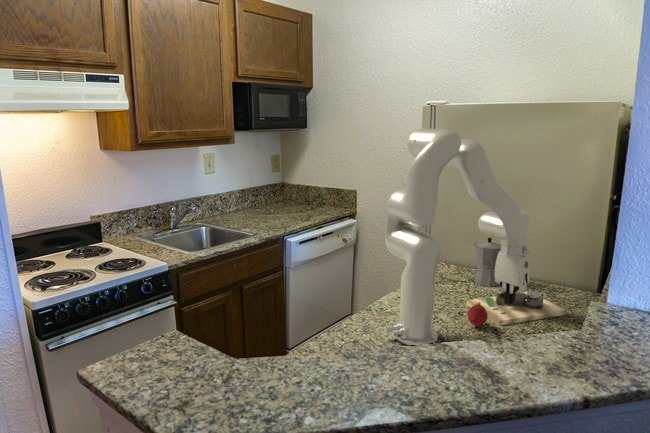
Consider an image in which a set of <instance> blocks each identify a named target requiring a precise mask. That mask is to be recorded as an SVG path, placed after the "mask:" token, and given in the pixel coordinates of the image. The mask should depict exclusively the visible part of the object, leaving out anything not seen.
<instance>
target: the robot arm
mask: <svg viewBox="0 0 650 433" xmlns="http://www.w3.org/2000/svg"><path fill="white" fill-rule="evenodd" d="M406 144H407V149H408V151H409V153H410V154H411V155H412V156H413V157H414V159H413V160H412V162H411V164H410V165H409V168H408V171H407V175H406V187H405V188H400V189H397V190H395V191H393V193H391V195H390V196H389V197H388V199H387V203H386V206H385V228H384V229H385V231H384V232H385V238H384V239H385V240H384V241H385V246H386V248H387V250H388V252H390V254H391V255H393V256H395V257H397V258H399V259H401V260H404V261H405V262H406V265H405V267H404V269H403V271H402V273H401V278H400V298H399V299H400V301H399V319H396V320H395V322H396V323H395V324H393V325H387V326H383V332H384V334H390V333H391V334H392V336H393V337H394V338H395V339H396V340H397V342H399V343H402V344H403V345H407V346H411V345H419V344H429V343H433V344H436V342H437V341H438V339H439V338H438V332H437V331H436V330H435V329H434V328H433V326H434V325H433V324H434V311H435V310H434V309H435V306H434V305H435V291H436V278H437V268H438V265H439V261H440V257H441V250H442V249H441V245H440V242H439V241H438V239H437V238H436V237H435V236H433V235H432V234H430V233H428V232H425V231H423V230H420V229H419V228H423V229H424V228H429V227H431V226H432V225H433V224H434V223H435V222H436V219H437V215H438V214H437V213H438V198H439V179H440V176H441V173H442V171H443V170H444V168H445V167H448V168H449V167H450V168H456V169H458V171H459V174H460V176H461V178H462V182H463V183H464V185H465V188H466V190H467V193H468V194H469V195H470V196H471V198H473V199H474V200H476V201H477V202H478V203H480V204H482V205H484V206H485V207H487V208H488V209H490V210H491V211H487V212H485V213H483V214H481V215H480V217H479V218H478V221H477V226H478V229H479V231H480V232H482V233H483V234H485V235H487V236H490V237H493V238H496V239H497V238H498V239H501V241H500V245H501V250H500V251H499V253H498V256H497V260H496V265H495V282H497V283H498V285H500V287H501V288H502V292H504V303H505V304H508V305H510V304H512V303H514V301H515V292H518V291H521V292H522V291H523V292H525V291H527V289H528V286H527V285H528V284H530V279H531V278H530V277H531V272H530V271H531V268H530V267H531V266H530V257H529V254H530V252H531V249H529V248H528V246H527V243H528V236H529V235H528V234H529V222H530V221H529V220H530V216H529V212H527V211H525V210H524V211H523V210H522V209H521V208H520V206H519V204H518V203H517V201H516V200H515V199H514V198H513V196H512V195H510V193H508V192H507V190H506V189H505V188H504V187H503V186H502V185H501V184H499V183H498V181H497V178H496V177H495V174H494V173H495V172H494V171H493V168H492V167H491V163H490V161H489V158H488V154H487V153H486V150H485V148H484V146H483V144H482V143H481V142H479V141H478V140H475V139H467V138H461V136H460V134H459V133H458V132H456V131H455V130H451V129H446V128H417V129H415V130H414V131H413V132H412V131H411V133H410V134H409V136H408V138H407V143H406ZM414 227H415V228H414ZM416 227H417V228H416Z"/></svg>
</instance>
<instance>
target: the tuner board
mask: <svg viewBox="0 0 650 433" xmlns="http://www.w3.org/2000/svg"><path fill="white" fill-rule="evenodd" d="M527 292H528V291H523V292H522V291H521V293H525V295H526V294H527ZM543 299H544V300H543V307H542V308H539V309H533V308H528V307H525V306H524V305H504V304H497V303H496V295H495V296H489V297H488V296H487V297H480V298H475V299H474V298H473V299H468V300H467V299H466V306H468V307H469V308H471V307H472V306H474V305H476V304H477V302H480V305H481V306H483V307H484V308H485V309H486V311H487V314H488V318H487V320H490V321H492V322H493V323H494V324H496V325H497V326H504V325H505V326H506V325H511V324H518V323H522V322H530V321H535V320H540V319H541V320H542V319H547V318H555V317H559V316H560V317H561V316H566V315H567V311H568V310H567V309H565V308H563V307H562V306H559V305H557V304H555V303H553V302H551V301H549V300H547V299H545V298H543Z"/></svg>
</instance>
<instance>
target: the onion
mask: <svg viewBox="0 0 650 433" xmlns="http://www.w3.org/2000/svg"><path fill="white" fill-rule="evenodd" d="M467 319H468V321H469V322H470V324H471V325H473V326H474V327H476V328H479V327H480V326H482V325H484V324H486V322H487V320H488V314H487V311H486V309H485V308H484V307H483V306H481V305H480V302H477V304H476V305H474V306H472V307H469V309H468V311H467Z"/></svg>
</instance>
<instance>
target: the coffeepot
mask: <svg viewBox="0 0 650 433" xmlns="http://www.w3.org/2000/svg"><path fill="white" fill-rule="evenodd" d="M492 240H493V238H492V237H487V241H484V242H483V241H477V242H472V245H474V247H475V249H476V252H477V262H478V265H477V270H476V273H475V277H474V280H473V281H474V283H475V284H476V285H478V286H481V287H486V288H487V287H488V288H494V287H497V286H498V285H499V283H497V282H495V265H496V260H497V256H498V253H499V251H500V250H501V244H498V243H496V242H492Z"/></svg>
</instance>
